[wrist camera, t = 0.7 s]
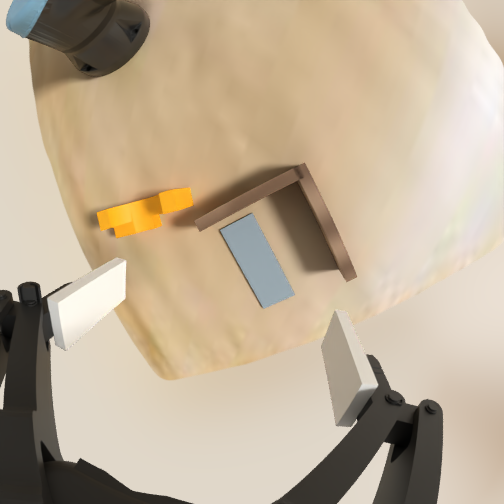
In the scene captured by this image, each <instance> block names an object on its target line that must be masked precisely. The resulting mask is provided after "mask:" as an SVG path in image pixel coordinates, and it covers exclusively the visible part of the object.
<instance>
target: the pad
mask: <svg viewBox="0 0 504 504" xmlns="http://www.w3.org/2000/svg"><path fill="white" fill-rule="evenodd" d="M220 231H221V233H222V235H223V237H224V238H225V240H226V242H227V244H228V246H229V248H230V249H231V251H232V253H233V255H234V257H235V258H236V260H237V262H238V264H239V266H240V267H241V269H242V271H243V273H244V275H245V276H246V278H247V280H248V282H249V284H250V285H251V287H252V289H253V291H254V292H255V294H256V296H257V298H258V300H259V301H260V303H261V305H262V307H263V308H266V307H269V306H271V305H273V304H276V303H278V302H280V301H282V300H285V299H287V298H289V297H291V296H294V295H295V294H294V292H293V290H292V288H291V286H290V284H289V282H288V280H287V278H286V276H285V274H284V272H283V270H282V269H281V267H280V265H279V263H278V261H277V259H276V257H275V255H274V253H273V251H272V249H271V247H270V246H269V244H268V242H267V240H266V238H265V236H264V234H263V232H262V230H261V228H260V227H259V225H258V223H257V221H256V219H255V217H254V215H253V213H252V214H250V215H248V216H246V217H244V218H242V219H240V220H238V221H236V222H234V223H232V224H231V225H229V226H227V227H225V228H223V229H221V230H220Z"/></svg>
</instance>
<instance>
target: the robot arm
mask: <svg viewBox="0 0 504 504" xmlns="http://www.w3.org/2000/svg"><path fill="white" fill-rule="evenodd" d="M6 26H7V28H8V29H9V30H10V31H12V32H14V33H16V34H18V35H20V36H21V37H22V38H28V39H30V40H33V41H36V42H39V43H41V44H44V45H46V46H49V47H51V48H54V49H56V50H59V51H61V52H63V53H65V54H66V55H67V57H68V58H69V59H70V61H71V62H72V63H73V64H74V66H75V67H76V68H77V69H78V70H79V71H81V72H82V73H85V74H87V75H89V76H103V75H106V74H109V73H111V72H113V71H115V70H117V69H118V68H120V67H121V66H123V65H124V64H125V63H126V62H128V61H129V60H130V59H131V58H132V57H133V56H134V55H135V54H136V52H137V51H138V50H139V49H140V47H141V46H142V44H143V43H144V41H145V39H146V37H147V35H148V32H149V28H150V19H149V16H148V14H147V13H146V12H145V11H144V10H143V9H142V8H141V7H140V6H138V5H137V4H134V3H131V2H128V1H125V0H13V2H12V4H11V6H10V8H9V11H8V14H7V18H6ZM125 284H126V260H124V259H121V258H117V257H116V258H114V259H113V260H111V261H109V262H107V263H105V264H104V265H102V266H100V267H98V268H97V269H95V270H93V271H91V272H90V273H88V274H86V275H85V276H83V277H81V278H80V279H78V280H76V281H74V282H71V283H67V284H64V285H63V286H61V287H60V288H58V289H56V290H55V291H53V292H51V293H49V294H48V295H46V296H44V297H43V298H41V290H40V285H39V284H38V283H36V282H25V283H22V284H20V285H19V286H18V295H19V300H20V302H17V301H13V298H12V293H11V292H10V291H7V290H0V387H1V384H2V381H3V379H4V376H5V374H6V378H5V389H4V404H3V410H1V409H0V504H192V503H189V502H185V501H181V500H178V499H175V498H171V497H168V496H161V495H153V494H146V493H141V492H135V491H132V490H130V489H129V488H127V487H126V486H125V485H123V484H122V483H120V482H119V481H118V480H116V479H115V478H113V477H112V476H111V475H109V474H108V473H107V472H105V471H104V470H102V469H99V468H97V467H96V466H94V465H92V464H90V463H88V462H86V461H84V460H82V459H81V458H80V459H79V461H78V462H77V463H73V462H69V461H64V460H63V458H62V456H61V453H60V449H59V444H58V439H57V432H56V425H55V418H54V410H53V401H52V389H51V364H50V363H51V361H50V341H49V339H50V338H52V337H53V336H54V340H55V345H56V346H58V347H60V348H61V349H63V350H65V351H66V350H68V349H69V348H70V347H71V346H72V345H73V344H74V343H75V342H76V341H78V340H79V339H80V338H81V337H82V336H83V335H84V334H85V333H86V332H88V331H89V330H90V329H91V328H92V327H93V326H94V325H95V324H96V323H98V322H99V321H100V320H101V319H102V318H103V317H104V316H105V315H107V314H108V313H109V312H110V311H111V310H113V309H114V308H115V307H116V306H117V305H118V304H119V303H121V302H122V301H123V300H124V299H125ZM321 349H322V353H323V358H324V363H325V368H326V373H327V378H328V384H329V389H330V394H331V400H332V406H333V411H334V417H335V423H336V426H346V427H351V426H352V425H353V423H354V422H355V421H356V419H357V421H358V422H357V423H356V425H355V426H354V427H353V428H352V429H351V430H350V432H349V433H348V434H347V435H346V436H345V437H344V438H343V440H342V441H341V442H340V443H339V444H338V445H337V446H336V447H335V448H334V449H333V451H332V452H330V454H329V455H328V456H327V457H326V458H325V459H324V460H323V461H322V462H321V463H320V464H319V465H318V466H316V468H314V469H313V470H312V471H311V472H310V473H309V474H308V475H307V476H306V477H305V478H304V479H303V480H301V482H299V483H298V484H297V485H296V486H295V487H293V488H292V489H291V490H290V491H289V492H288V493H286V494H285V495H284V496H283V497H282V498H280V499H279V500H277V501H275V502H273V503H272V504H337V503H338V502H339V501H340V499H341V498H342V497H343V496H344V495H345V493H346V492H347V491H348V490H349V489H350V488H351V486H352V485H353V484H354V482H355V481H356V480H357V479H358V477H359V476H360V475H361V474H362V472H363V471H364V470H365V468H366V467H367V465H368V464H369V463H370V461H371V460H372V458H373V457H374V456H375V454H376V453H377V451H378V450H379V448H380V447H381V445H382V443H383V442H386V443H390V444H391V445H390V449H389V453H388V457H387V460H386V464H385V467H384V471H383V474H382V477H381V481H380V484H379V487H378V490H377V493H376V496H375V498H374V501H373V504H437V499H438V492H439V485H440V476H441V465H442V464H441V463H442V446H443V412H442V408H441V407H440V405H439V404H438V403H436V402H435V401H432V400H428V399H426V400H423V401H421V403H420V404H419V405H418V406H414V405H410V404H406V403H405V399H404V398H403V396H402V395H401V394H400V393H398V392H396V391H394V390H391V388H390V386H389V383H388V381H387V379H386V377H385V375H384V372H383V370H382V369H381V366H380V363H379V362H378V360H377V359H376V358H375V357H374V356H373V355H366V354H365V351H364V349H363V347H362V345H361V342H360V340H359V337H358V335H357V333H356V331H355V328H354V326H353V324H352V322H351V319H350V317H349V315H348V313H347V311H342V310H337V309H335V311H334V314H333V317H332V319H331V322H330V325H329V327H328V330H327V333H326V335H325V338H324V340H323V343H322V345H321Z"/></svg>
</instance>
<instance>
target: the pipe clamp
mask: <svg viewBox="0 0 504 504" xmlns="http://www.w3.org/2000/svg"><path fill="white" fill-rule="evenodd" d="M191 206H194V205H193V200H192V195H191V191H190V188H181V189H173V190H169V191H165V192H162V193H159V195H156V196H153V197H150V198H147V199H143V200H140V201H136V202H132V203H129V204H125V205H121V206H117V207H114V208H109V209H106V210H103V211H100V212H97V216H98V221H99V225H100V229H101V231H102V230H106V229H109V228H113V227H114V231H115V235H116V238H119V237H123V236H127V235H131V234H136V233H139V232H143V231H146V230H150V229H154V228H157V227H160V226H162V224H161V220H160V216H159V214H166V213H170V212H174V211H178V210H181V209H184V208H188V207H191Z"/></svg>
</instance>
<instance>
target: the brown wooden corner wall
mask: <svg viewBox="0 0 504 504" xmlns="http://www.w3.org/2000/svg"><path fill="white" fill-rule="evenodd" d="M296 181H297V182H298V184H299V186H300V188H301V190H302V192H303V194H304V196H305V198H306V200H307V202H308V204H309V206H310V208H311V210H312V212H313V214H314V216H315V218H316V220H317V223H318V225H319V227H320V229H321V231H322V233H323V235H324V237H325V240H326V242H327V244H328V246H329V248H330V251H331V253H332V255H333V257H334V259H335V262H336V264H337V266H338V269H339V270H340V272H341V274H342V275H343V277H344V278H345V280H346V282H348V281H350V280H352V279H354V278H356V277H357V275H356V272H355V270H354V267H353V265H352V263H351V260H350V258H349V255H348V253H347V251H346V248H345V246H344V244H343V241H342V239H341V237H340V235H339V232H338V230H337V228H336V226H335V224H334V221H333V219H332V217H331V215H330V213H329V211H328V208H327V206H326V204H325V202H324V200H323V198H322V196H321V194H320V192H319V190H318V188H317V186H316V184H315V182H314V180H313V178H312V176H311V174H310V172H309V170H308V168H307V166H306V164H305V163H303V164H301V165H299V166H297V167H295V168H293V169H291V170H289V171H287V172H284V173H282V174H281V175H279V176H277V177H275V178H273V179H271V180H269V181H267V182H265V183H263V184H261V185H259V186H257V187H255V188H253V189H251V190H249V191H248V192H246V193H244V194H242V195H240V196H238V197H236V198H234V199H233V200H231V201H229V202H227V203H225V204H223V205H222V206H220V207H218V208H216V209H214V210H213V211H211V212H209V213H207V214H205V215H204V216H202V217H200V218H198V219H197V220H195V221H194V222H195V224H196V226H197V227H198V229H199V231H202V230H204V229H206V228H208V227H209V226H211V225H213V224H215V223H217V222H219V221H221V220H222V219H224V218H226V217H228V216H230V215H232V214H234V213H235V212H237V211H239V210H241V209H243V208H245V207H247V206H249V205H251V204H253V203H254V202H256V201H258V200H260V199H262V198H264V197H266V196H268V195H270V194H272V193H274V192H276V191H278V190H280V189H282V188H284V187H286V186H288V185H290V184H292V183H294V182H296Z"/></svg>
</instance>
